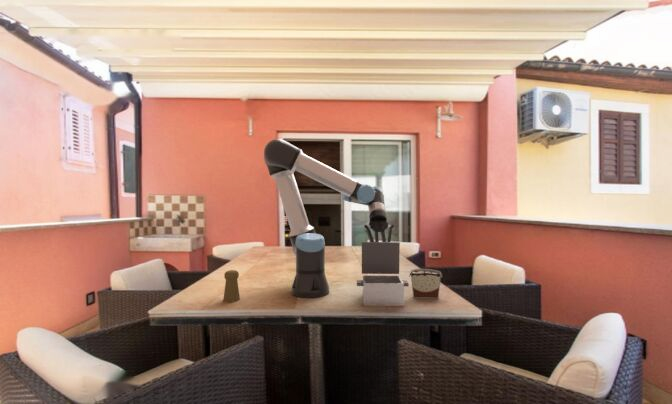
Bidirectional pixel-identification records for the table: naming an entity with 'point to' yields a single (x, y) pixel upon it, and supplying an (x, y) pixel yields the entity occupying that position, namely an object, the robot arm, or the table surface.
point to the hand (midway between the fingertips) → (382, 259)
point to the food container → (425, 283)
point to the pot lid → (380, 257)
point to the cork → (231, 286)
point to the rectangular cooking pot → (382, 290)
